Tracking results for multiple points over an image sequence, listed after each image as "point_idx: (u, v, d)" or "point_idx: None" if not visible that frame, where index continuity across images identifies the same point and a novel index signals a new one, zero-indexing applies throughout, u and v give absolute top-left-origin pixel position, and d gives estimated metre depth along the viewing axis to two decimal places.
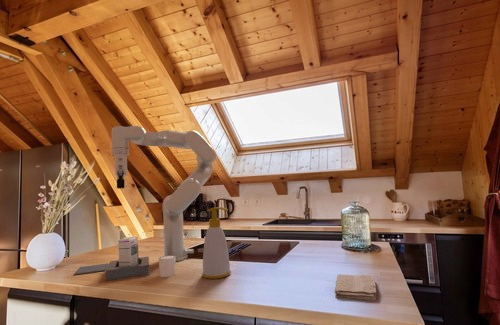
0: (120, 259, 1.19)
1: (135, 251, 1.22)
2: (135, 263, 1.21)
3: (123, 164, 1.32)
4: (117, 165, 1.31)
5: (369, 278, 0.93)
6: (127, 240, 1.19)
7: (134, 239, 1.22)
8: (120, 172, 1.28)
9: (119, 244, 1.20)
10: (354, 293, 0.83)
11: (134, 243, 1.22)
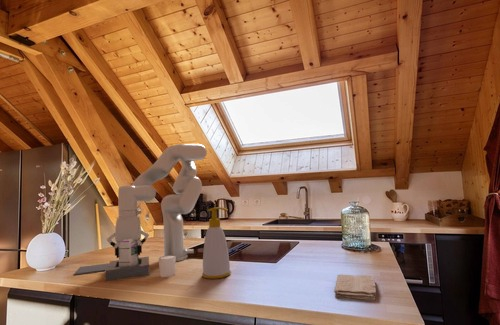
0: (120, 259, 1.19)
1: (135, 251, 1.22)
2: (135, 263, 1.21)
3: None
4: (140, 229, 1.23)
5: (369, 278, 0.92)
6: (127, 240, 1.19)
7: None
8: (147, 237, 1.25)
9: (119, 244, 1.20)
10: (354, 293, 0.83)
11: (134, 243, 1.22)
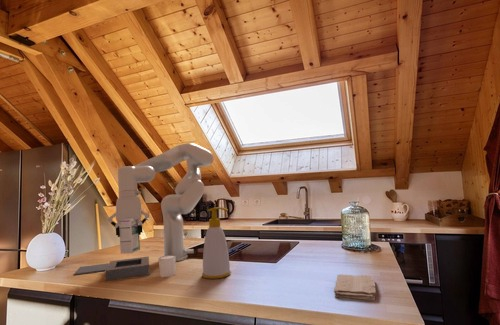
0: (121, 238, 1.21)
1: (135, 230, 1.23)
2: (136, 242, 1.22)
3: None
4: (140, 209, 1.24)
5: (369, 278, 0.92)
6: (128, 219, 1.20)
7: None
8: (147, 217, 1.26)
9: None
10: (353, 293, 0.83)
11: (134, 223, 1.23)
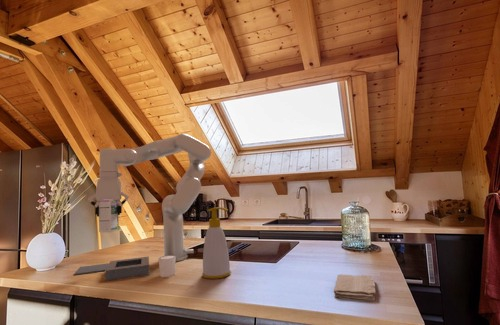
0: (100, 218, 1.24)
1: (115, 211, 1.27)
2: (115, 222, 1.26)
3: None
4: (120, 190, 1.28)
5: (369, 278, 0.92)
6: (107, 199, 1.24)
7: None
8: None
9: (99, 203, 1.25)
10: (353, 293, 0.83)
11: (114, 203, 1.27)
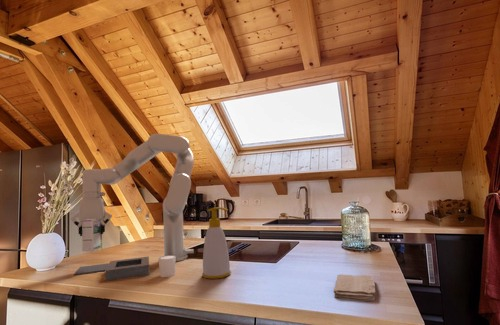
0: (83, 237, 1.28)
1: (97, 230, 1.30)
2: (98, 241, 1.29)
3: (104, 208, 1.34)
4: (103, 210, 1.31)
5: (369, 278, 0.92)
6: (90, 219, 1.28)
7: None
8: None
9: (82, 223, 1.28)
10: (353, 293, 0.83)
11: (97, 223, 1.30)
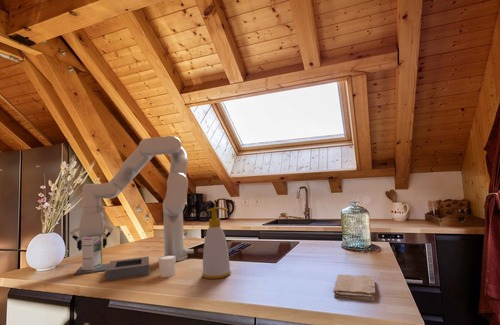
0: (83, 255, 1.27)
1: (98, 248, 1.29)
2: (98, 259, 1.29)
3: (104, 223, 1.33)
4: (103, 224, 1.31)
5: (369, 278, 0.92)
6: (90, 238, 1.27)
7: (97, 237, 1.30)
8: None
9: (82, 241, 1.27)
10: (353, 293, 0.83)
11: (97, 241, 1.29)
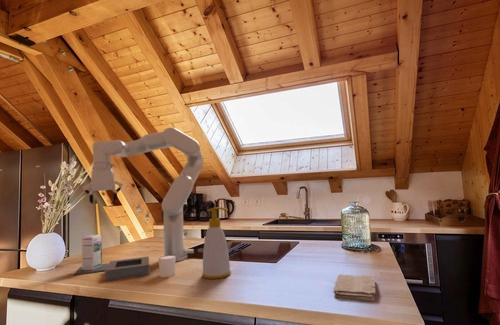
0: (83, 255, 1.27)
1: (98, 248, 1.29)
2: (98, 259, 1.29)
3: (114, 179, 1.40)
4: (114, 180, 1.38)
5: (369, 279, 0.92)
6: (90, 238, 1.27)
7: (97, 237, 1.30)
8: (121, 186, 1.40)
9: (82, 241, 1.27)
10: (353, 293, 0.83)
11: (97, 240, 1.29)
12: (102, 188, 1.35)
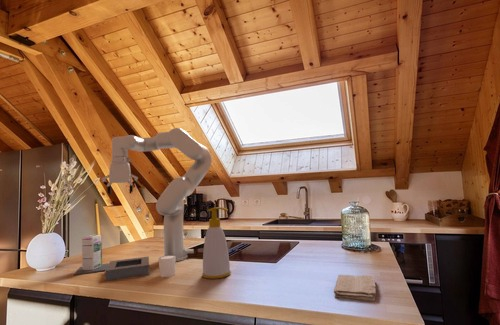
0: (83, 255, 1.27)
1: (98, 248, 1.29)
2: (98, 259, 1.29)
3: (130, 172, 1.50)
4: (130, 173, 1.48)
5: (369, 279, 0.92)
6: (90, 238, 1.27)
7: (97, 237, 1.30)
8: None
9: (82, 241, 1.27)
10: (353, 293, 0.83)
11: (97, 241, 1.29)
12: (119, 180, 1.45)
